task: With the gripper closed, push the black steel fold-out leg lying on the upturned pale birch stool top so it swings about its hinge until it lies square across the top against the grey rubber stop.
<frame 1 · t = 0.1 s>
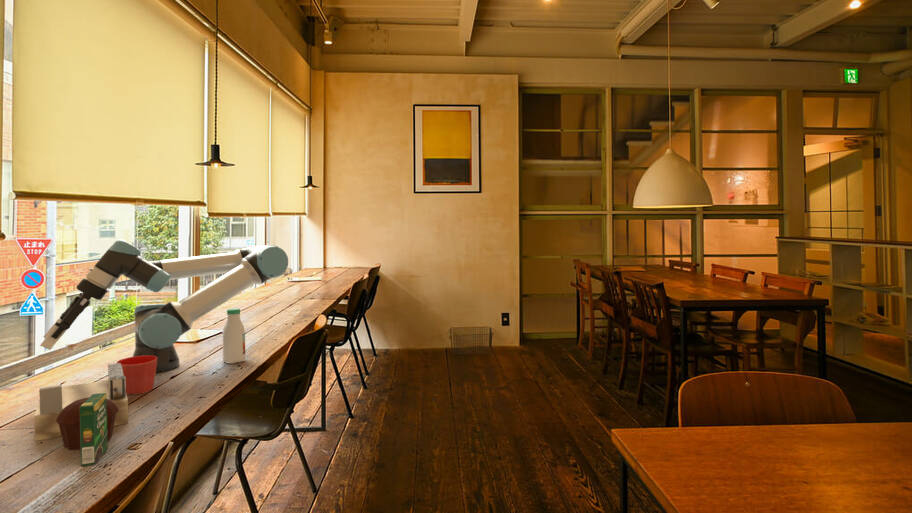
hand: (46, 343, 144), 15 cm above the counter, tool tilted 35°, fingers open, 13 cm apart
coffee box: (94, 458, 104), on the counter
stool seat: (84, 417, 127), on the counter
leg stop: (51, 412, 114), resting on stool seat
milk bottle: (234, 361, 183), on the counter
flower pot: (137, 391, 148), on the counter
folding leg: (116, 380, 130), point 9 cm above the counter, hinge at 0.0°
muffin: (89, 442, 112), on the counter
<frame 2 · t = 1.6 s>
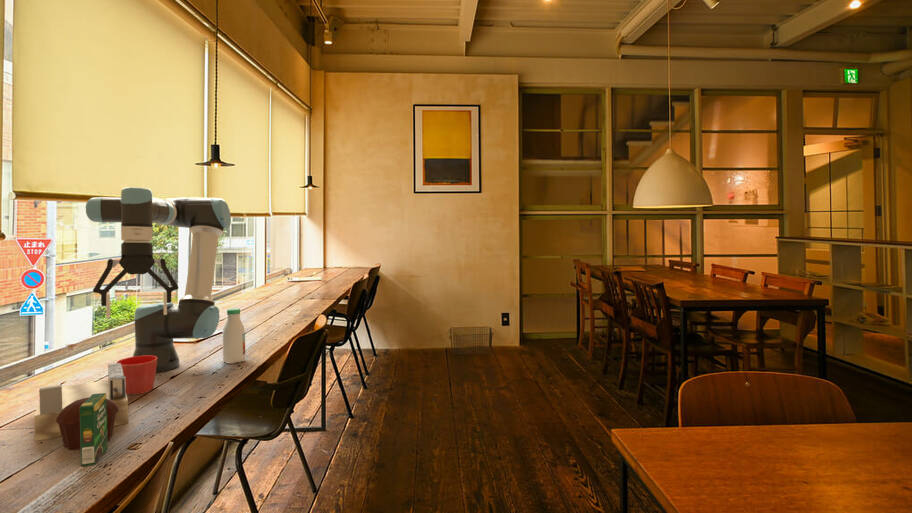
hand: (137, 316, 137), 25 cm above the counter, tool pointing down, fingers open, 13 cm apart
nothing on the counter moved.
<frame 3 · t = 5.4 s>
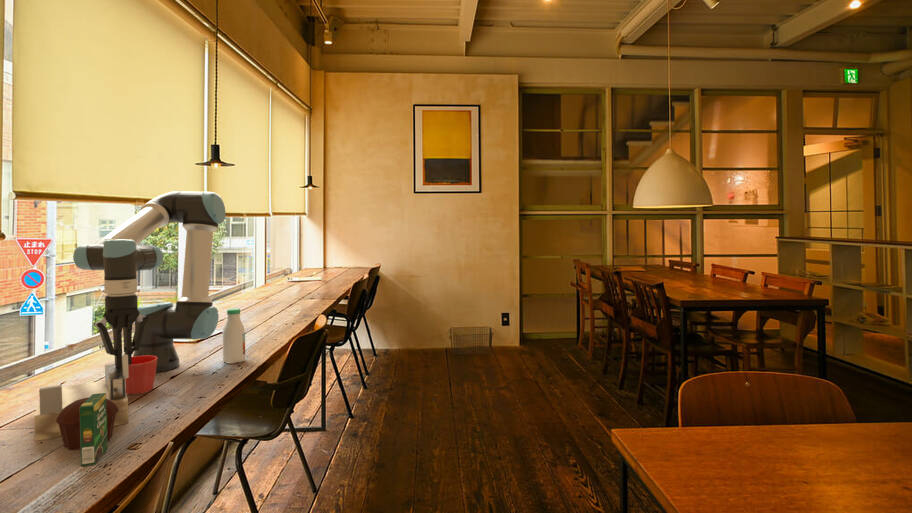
hand: (123, 377, 135), 8 cm above the counter, tool pointing down, fingers closed
folding leg: (114, 380, 130), point 9 cm above the counter, hinge at 2.4°, touching gripper
everything else where it was.
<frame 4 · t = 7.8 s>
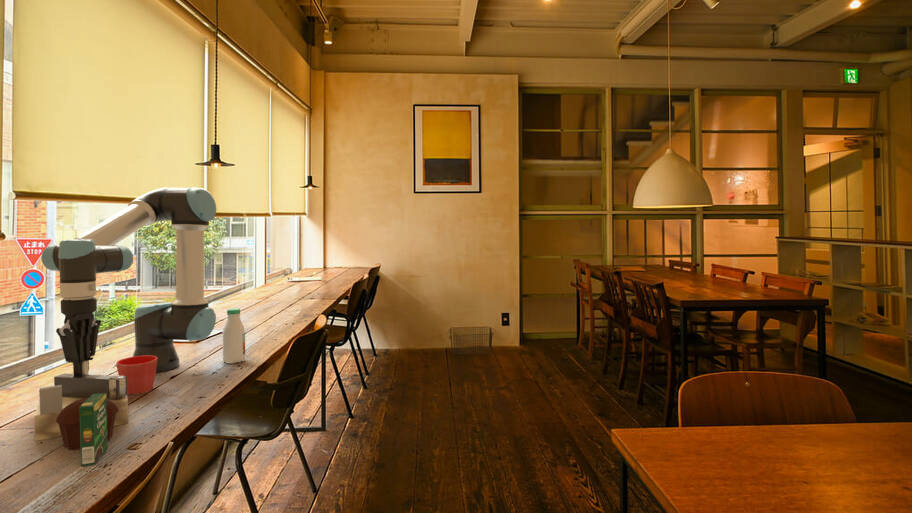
hand: (81, 385, 128), 8 cm above the counter, tool pointing down, fingers closed
folding leg: (91, 386, 125), point 9 cm above the counter, hinge at 46.4°, touching gripper
everything else where it was.
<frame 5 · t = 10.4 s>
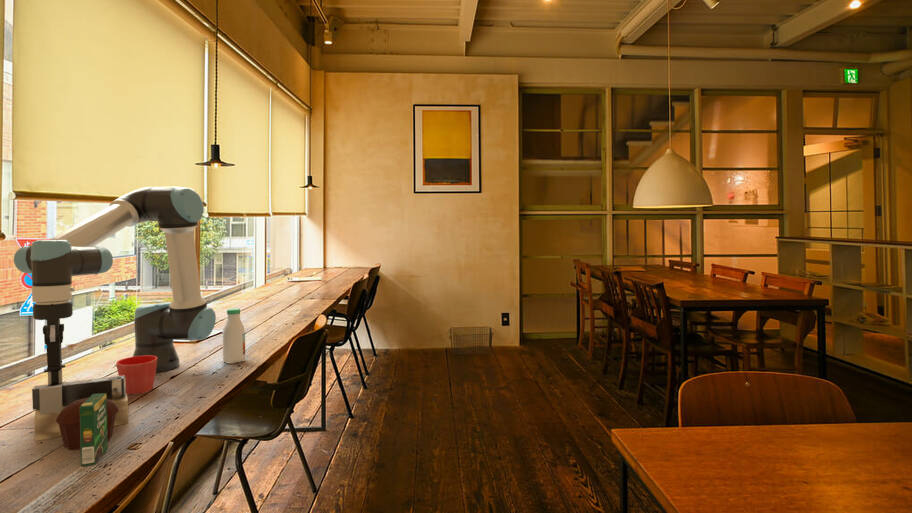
hand: (55, 395, 120), 8 cm above the counter, tool pointing down, fingers closed
folding leg: (81, 391, 120), point 9 cm above the counter, hinge at 83.1°
everything else where it was.
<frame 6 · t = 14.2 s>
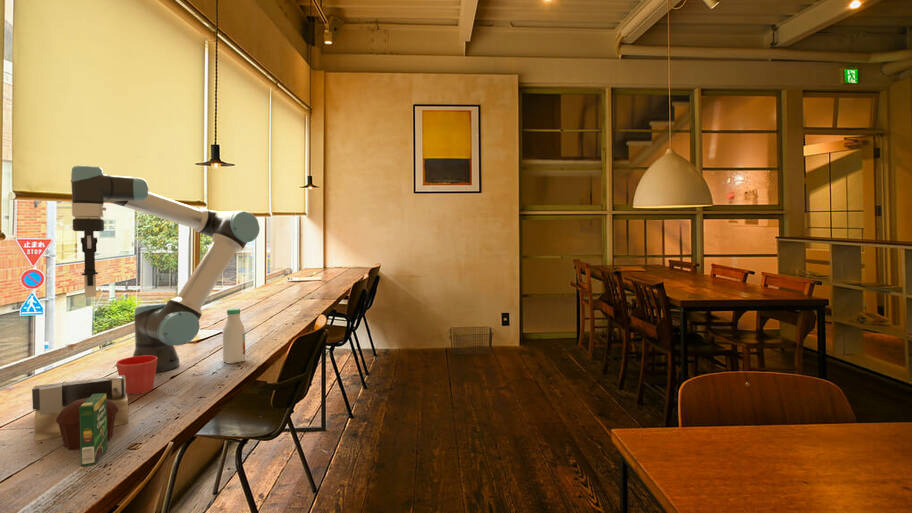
hand: (90, 296, 145), 29 cm above the counter, tool pointing down, fingers closed
nothing on the counter moved.
at the end: folding leg at +83° (first picture: +0°) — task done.
